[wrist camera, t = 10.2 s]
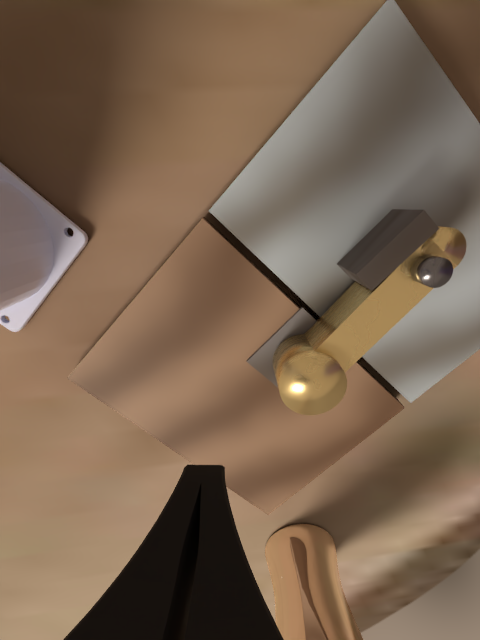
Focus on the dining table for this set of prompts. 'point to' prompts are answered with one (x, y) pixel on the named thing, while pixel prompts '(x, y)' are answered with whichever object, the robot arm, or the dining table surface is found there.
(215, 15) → the dining table surface
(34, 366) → the dining table surface
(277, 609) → the beer glass
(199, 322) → the door and jamb
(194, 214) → the dining table surface
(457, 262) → the swing bar
